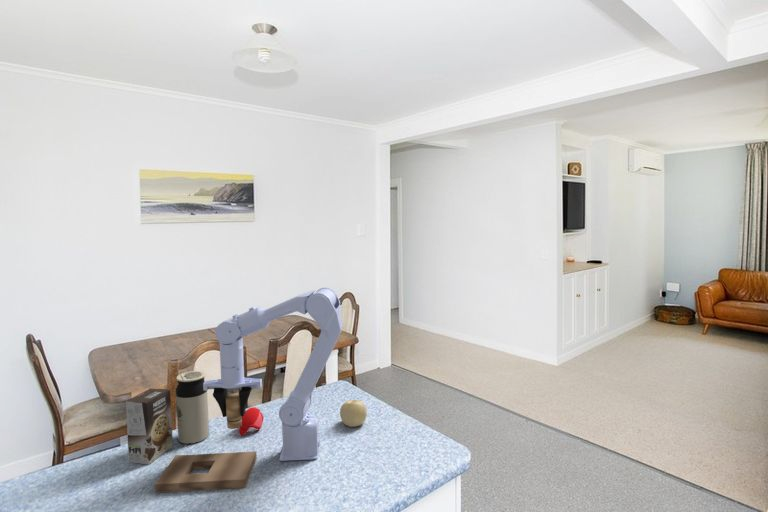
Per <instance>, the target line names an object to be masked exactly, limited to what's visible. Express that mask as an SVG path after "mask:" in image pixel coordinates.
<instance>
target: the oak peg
mask: <svg viewBox="0 0 768 512" xmlns="http://www.w3.org/2000/svg"><path fill="white" fill-rule="evenodd" d="M225 401H226V417H225V418H226V426H227V427H226V428H227V429H229V430H236V429H238V428H240V427H241V426H242V416H241V414H240V408H241V405H240V397H239V392H236V393H230V394H227V396H226V397H225Z"/></svg>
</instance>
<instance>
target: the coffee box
mask: <svg viewBox="0 0 768 512" xmlns="http://www.w3.org/2000/svg"><path fill="white" fill-rule="evenodd" d="M125 409H126V411H125V412H126V413H125V414H126V433H127V449H128V450H127V452H128V454H127V456H128V462H129V463H135V464H143V465H151V464H152V463H153V462H155V461H156V460H157V459H159V458H160V457H161V456H163V455H164V454H165V453H166V452H168V451H169V450H170V449H172V448H173V447H174V441H173V422H172V400H171V389H169V388H167V389H166V388H153V387H152V388H148V389H147V390H144V391H143V392H141V393H139V394H137V395H134V396H132V397H131V398H130V399H129V398H128V399H127V400H126V401H125Z"/></svg>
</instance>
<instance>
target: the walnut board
mask: <svg viewBox="0 0 768 512" xmlns="http://www.w3.org/2000/svg"><path fill="white" fill-rule="evenodd" d="M257 458H258V457H257V451H239V452H236V451H234V452H219V453H218V452H217V453H200V454H182V455H180V454H178V455H176V454H175V456H174V457H173V458H172V460H171V461H170V462H169V463H168V465H167V466H166V468H165V469H164V471H163V472H162V474H161V475H160V476H159V478H158V479H157V480H156V482H155V483H154V493H155V494H156V493H159V494H160V493H174V492H176V493H177V492H193V491H194V492H195V491H210V490H212V491H213V490H227V489H245V488H247V487H248V486H247V485H248V483H249V479H250V477H251V475H252V472H253V469H254V467H255V464H256V462H257ZM203 468H204V469H203ZM209 468H210V469H209ZM206 469H209V471H208V472H207V473H205V472H203V473H192V472H193V470H206Z"/></svg>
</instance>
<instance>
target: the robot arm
mask: <svg viewBox="0 0 768 512" xmlns="http://www.w3.org/2000/svg"><path fill="white" fill-rule="evenodd" d="M314 292H315V293H314ZM295 312H297V313H300V314H302V315H306V314H308V315H309V316H310V317H311V318H312V319H313V320H314V321H315V322H316V323H317V325H318V327H319V329H320V334H319V336H318V339H317V340H316V342H315V345H314V347H313V349H312V351H311V354H310V355H309V358H308V359H307V362H306V363H305V365H304V368H303V370H302V372H301V374H300V376H299V378H298V380H297V383H296V385H295V387H294V388H293V390H292V391H291V392H290V393H289V395H288V397H287V399H285V401H284V402H283V404H282V405H281V406H280V408H279V410H278V416H279V419H280V421H281V427H282V429H281V430H282V431H281V432H282V433H281V434H282V449H281V453H280V456H279V461H280V462H285V461H286V462H287V461H288V462H291V461H306V460H308V461H309V460H317V459H318V455H319V448H320V444H321V443H320V442H321V441H320V437H319V436H320V434H319V430H320V429H319V418H317V417H311V415H310V413H309V410H308V409H309V408H310V407H311V405H312V395H313V392H314V390H315V388H316V385H317V383H318V381H319V378H321V375H322V372H323V371H324V369H325V366H326V365H327V362H328V360H329V358H330V356H331V354H332V353H333V350H334V348H335V346H336V345H337V342H338V339H339V337H340V335H341V333H342V331H343V322H342V321H343V320H342V313H341V301H340V299H339V296H338V295H337V294H336V292H335V291H334V290H333V289H332V288H330V287H321V288H319V289H317V290H315V289H314V290H310V291H307V292H303V293H301V294H297V295H296V296H294V297H292V298H289V299H286V300H284V301H282V302H280V303H278V304H275V305H274V306H270V307H269V308H264V307H261V306H258V307H256V306H255V305H254V306H252V307H250V308H248V311H245V312H242V313H240V314H238V313H237V314H234V315H232V317H230V318H228V319H226V320H224V321H222V322H221V323H219V324H218V325H217V326H216V328H215V330H214V333H215V338H216V340H217V341H218V342H219V361H220V378H217V379H212V380H211V379H210V380H209V379H208V380H204V381H205V382H204V383H203V390H207V391H208V390H213V393H212V397H213V398H214V399H215V402H217V404H218V406H219V409H220V412H221V415H222V418H227V417H226V401H225V397H226V396H227V395H228V389H239V392H238V393H239V397H240V405H241V408H240V414H241V416H244V415H245V411H246V410H247V404H248V401H249V397H250V395H251V392H252V390H253V389H261V388H262V386H263V378H254V377H253V378H251V377H245V367H244V366H245V365H244V363H245V362H244V343H243V342H244V340H243V337H247V336H249V335H252V334H255V333H257V332H260V331H262V330H265V329H267V328H268V327H269V326H270V324H271V321H274V320H278V319H279V318H281V317H285V316H288V315H290V314H293V313H295Z"/></svg>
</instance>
